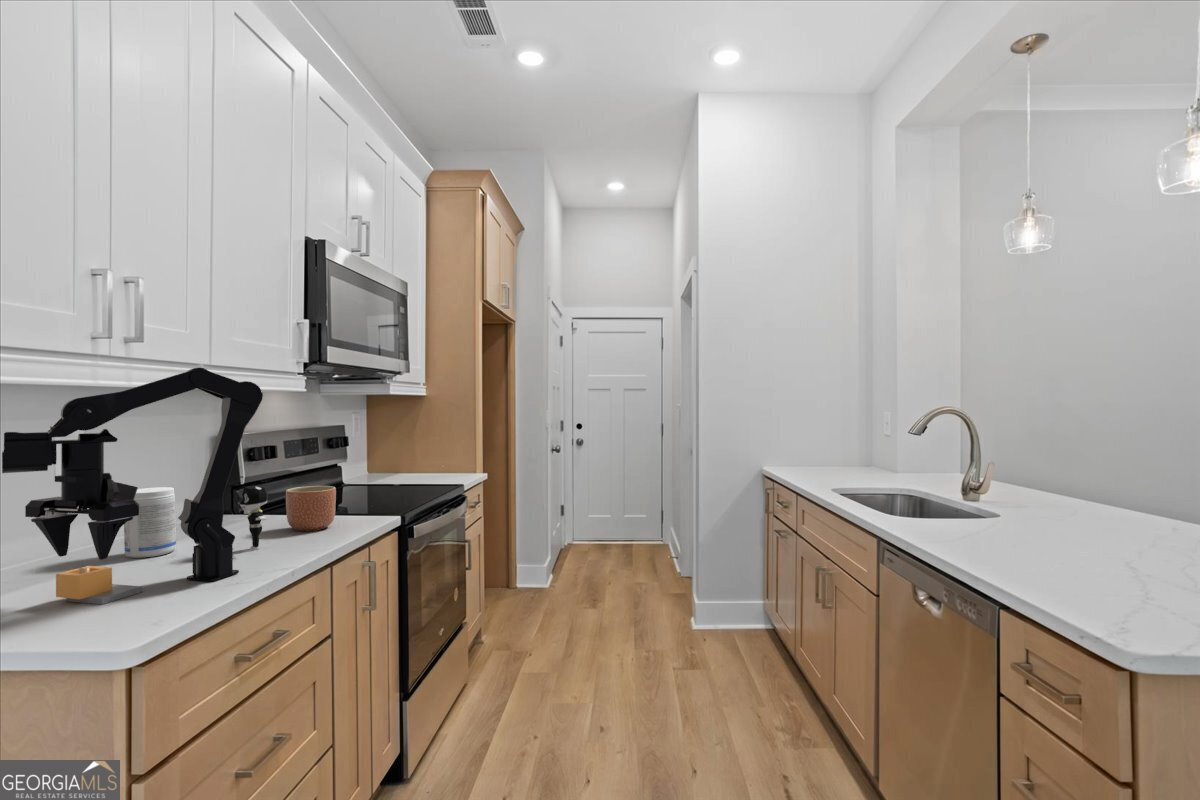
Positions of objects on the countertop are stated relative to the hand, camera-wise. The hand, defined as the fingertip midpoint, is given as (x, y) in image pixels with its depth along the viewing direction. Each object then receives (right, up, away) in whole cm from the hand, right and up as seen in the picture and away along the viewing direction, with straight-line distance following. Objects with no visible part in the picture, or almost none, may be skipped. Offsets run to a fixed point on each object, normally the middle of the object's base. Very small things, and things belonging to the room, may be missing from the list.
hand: (82, 557), depth 108 cm
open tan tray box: (0, -6, 0) cm, 6 cm away
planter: (+12, -8, +60) cm, 61 cm away
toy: (+10, -8, +36) cm, 38 cm away
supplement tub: (-12, -8, +32) cm, 35 cm away
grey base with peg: (+3, -7, +2) cm, 8 cm away
